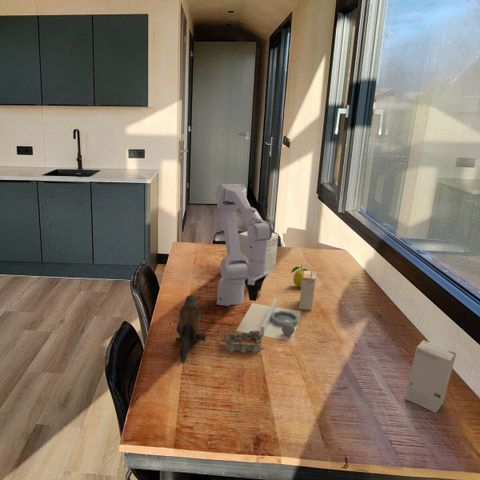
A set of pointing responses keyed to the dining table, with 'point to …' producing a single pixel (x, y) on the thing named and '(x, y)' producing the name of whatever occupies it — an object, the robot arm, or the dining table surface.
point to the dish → (284, 318)
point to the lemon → (298, 276)
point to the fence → (268, 317)
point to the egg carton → (238, 344)
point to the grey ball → (288, 329)
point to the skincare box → (429, 375)
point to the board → (257, 317)
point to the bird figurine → (188, 326)
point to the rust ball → (258, 295)
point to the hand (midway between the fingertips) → (254, 297)
